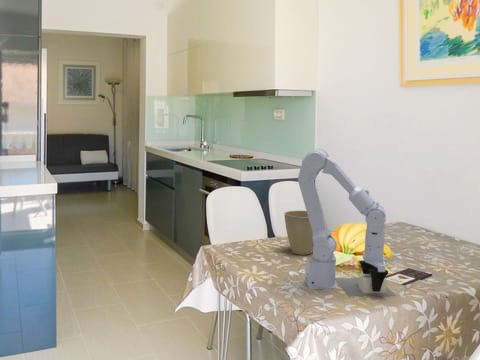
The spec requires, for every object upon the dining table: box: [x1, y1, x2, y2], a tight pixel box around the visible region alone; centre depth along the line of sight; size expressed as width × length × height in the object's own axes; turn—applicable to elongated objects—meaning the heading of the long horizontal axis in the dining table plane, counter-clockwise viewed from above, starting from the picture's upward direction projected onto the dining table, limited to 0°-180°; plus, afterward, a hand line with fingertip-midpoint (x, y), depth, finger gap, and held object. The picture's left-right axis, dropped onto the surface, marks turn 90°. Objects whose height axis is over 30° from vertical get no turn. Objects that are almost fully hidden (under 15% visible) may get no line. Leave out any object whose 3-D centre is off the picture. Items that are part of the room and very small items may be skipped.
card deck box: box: [358, 273, 388, 293], centre depth 154 cm, size 7×5×5 cm
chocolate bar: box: [385, 267, 433, 286], centre depth 169 cm, size 9×1×18 cm
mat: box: [335, 277, 397, 298], centre depth 158 cm, size 15×17×1 cm
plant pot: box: [283, 210, 314, 256], centre depth 197 cm, size 15×15×16 cm
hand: (372, 287), depth 154 cm, fingers open, 7 cm apart
